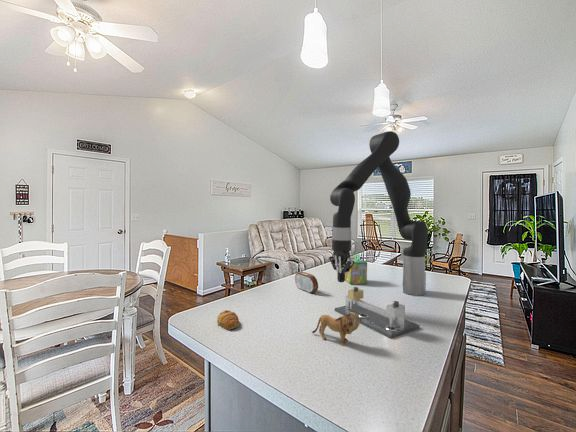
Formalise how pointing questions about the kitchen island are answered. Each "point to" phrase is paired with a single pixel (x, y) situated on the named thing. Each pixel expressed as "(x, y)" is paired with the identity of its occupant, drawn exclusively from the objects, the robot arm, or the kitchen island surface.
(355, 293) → the block
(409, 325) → the bolt plate
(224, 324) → the pastry
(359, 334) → the kitchen island surface
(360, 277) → the chalk box
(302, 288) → the tin
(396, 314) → the divider frame
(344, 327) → the lion figurine
